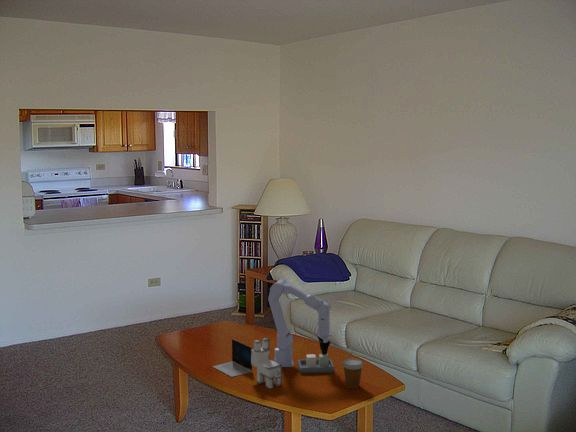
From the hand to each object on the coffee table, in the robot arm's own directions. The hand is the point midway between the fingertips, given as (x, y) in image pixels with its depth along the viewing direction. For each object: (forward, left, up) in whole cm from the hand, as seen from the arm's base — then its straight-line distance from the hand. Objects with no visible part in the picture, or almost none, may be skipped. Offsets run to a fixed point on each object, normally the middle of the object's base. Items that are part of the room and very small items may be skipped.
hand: (323, 351), depth 333 cm
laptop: (-46, +2, -10) cm, 47 cm away
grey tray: (-4, 0, -9) cm, 10 cm away
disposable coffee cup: (+11, -24, -9) cm, 28 cm away
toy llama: (-29, -17, -9) cm, 35 cm away
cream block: (-6, 0, -8) cm, 10 cm away
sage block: (0, 0, -8) cm, 8 cm away
